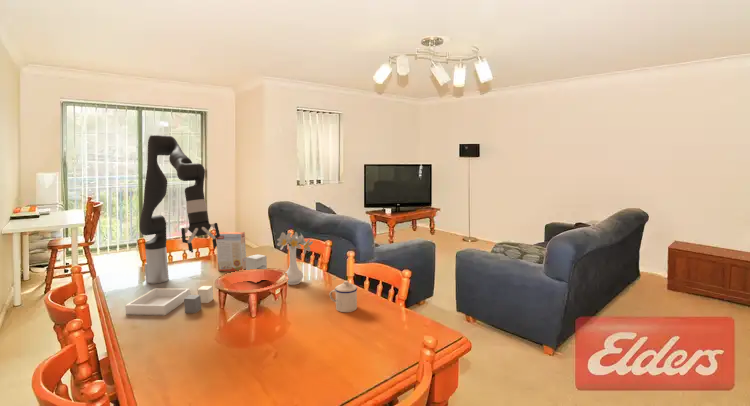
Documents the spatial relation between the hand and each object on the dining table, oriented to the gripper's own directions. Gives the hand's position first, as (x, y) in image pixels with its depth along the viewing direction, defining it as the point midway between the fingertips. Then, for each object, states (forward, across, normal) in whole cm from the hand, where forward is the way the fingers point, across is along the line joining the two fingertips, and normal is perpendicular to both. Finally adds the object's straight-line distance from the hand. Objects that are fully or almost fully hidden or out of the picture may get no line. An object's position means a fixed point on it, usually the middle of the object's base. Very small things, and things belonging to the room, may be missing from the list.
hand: (203, 250), depth 165 cm
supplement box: (+21, -22, -31) cm, 43 cm away
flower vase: (+24, -38, -20) cm, 50 cm away
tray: (+20, +20, -14) cm, 32 cm away
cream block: (+22, +2, -12) cm, 25 cm away
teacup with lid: (+33, -49, +19) cm, 62 cm away
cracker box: (+15, -12, -56) cm, 59 cm away
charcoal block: (+24, +7, -2) cm, 25 cm away
